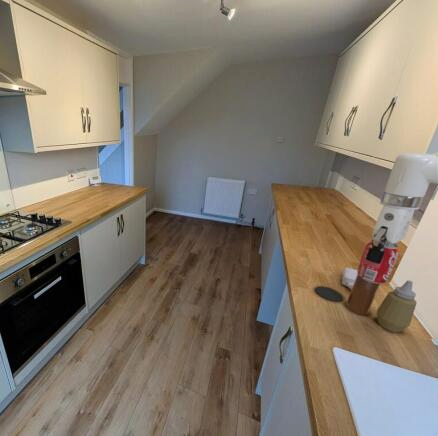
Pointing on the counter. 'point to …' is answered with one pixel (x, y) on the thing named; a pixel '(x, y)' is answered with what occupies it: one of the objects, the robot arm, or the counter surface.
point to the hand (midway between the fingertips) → (378, 257)
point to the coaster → (329, 294)
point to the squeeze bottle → (397, 308)
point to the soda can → (378, 271)
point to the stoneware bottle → (362, 296)
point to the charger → (349, 277)
